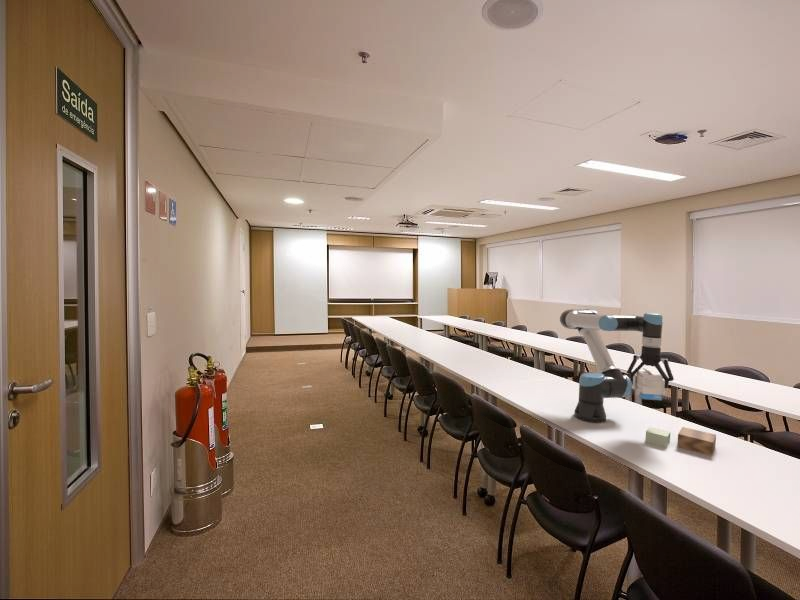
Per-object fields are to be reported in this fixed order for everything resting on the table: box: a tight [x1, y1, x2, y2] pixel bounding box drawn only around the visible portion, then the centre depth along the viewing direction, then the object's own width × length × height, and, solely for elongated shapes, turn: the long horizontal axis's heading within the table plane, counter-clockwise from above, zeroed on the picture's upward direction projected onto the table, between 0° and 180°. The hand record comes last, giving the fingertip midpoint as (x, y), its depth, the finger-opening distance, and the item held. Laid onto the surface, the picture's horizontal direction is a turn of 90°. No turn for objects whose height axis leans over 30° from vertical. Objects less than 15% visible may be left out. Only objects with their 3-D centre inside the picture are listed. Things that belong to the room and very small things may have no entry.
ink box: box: [635, 367, 664, 401], centre depth 181 cm, size 9×8×13 cm
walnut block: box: [676, 426, 717, 457], centre depth 168 cm, size 12×12×6 cm
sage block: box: [645, 426, 671, 448], centre depth 172 cm, size 8×8×5 cm
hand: (648, 391), depth 182 cm, fingers closed on ink box, 11 cm apart
